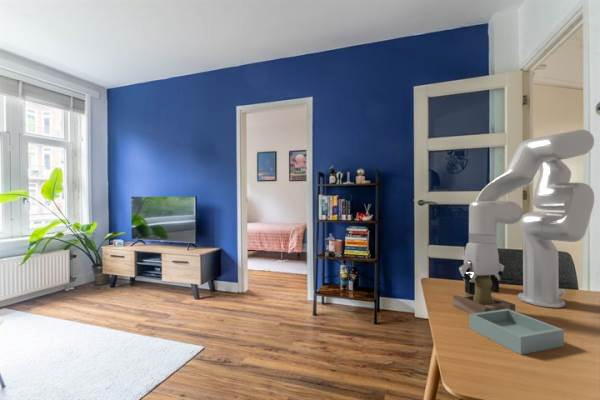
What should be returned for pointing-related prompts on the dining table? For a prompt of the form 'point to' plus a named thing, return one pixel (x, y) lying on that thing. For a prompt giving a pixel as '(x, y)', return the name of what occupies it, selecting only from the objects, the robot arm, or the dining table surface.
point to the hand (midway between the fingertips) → (481, 292)
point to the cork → (483, 290)
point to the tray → (516, 331)
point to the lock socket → (471, 306)
